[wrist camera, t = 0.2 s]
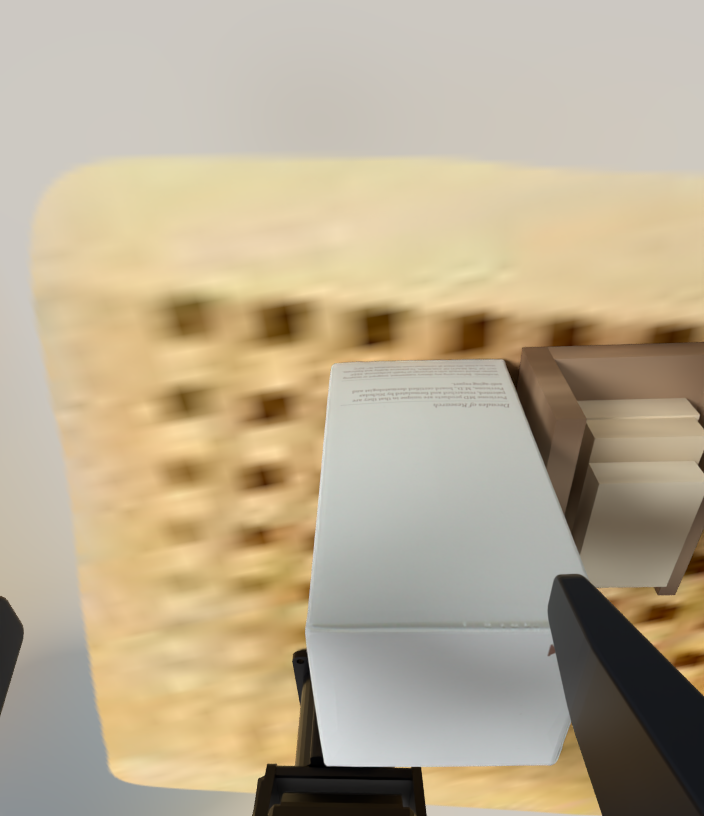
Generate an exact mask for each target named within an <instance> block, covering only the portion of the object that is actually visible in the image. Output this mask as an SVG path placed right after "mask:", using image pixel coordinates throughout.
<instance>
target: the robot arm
mask: <svg viewBox="0 0 704 816" xmlns="http://www.w3.org/2000/svg"><path fill="white" fill-rule="evenodd" d="M547 612H548V621H549V625H550V630H551V635H552V639H553V644H554V648H555V653H556V658H557V662H558V667H559V671H560V676H561V680H562V685H563V690H564V694H565V699H566V703H567V707H568V711H569V715H570V719H571V722H572V725H573V729H574V732H575V735H576V738H577V741H578V744H579V747H580V750H581V753H582V756H583V759H584V762H585V765H586V768H587V771H588V774H589V777H590V780H591V783H592V786H593V789H594V792H595V795H596V798H597V801H598V804H599V807H600V810H601V813H602V816H704V696H703V695H702V694H701V693H700V692H699V691H698V690H697V689H696V688H695V687H694V686H693V685H692V684H691V683H690V682H689V681H688V680H687V679H686V678H685V677H684V676H683V675H682V674H681V673H680V672H679V671H678V670H677V669H676V668H675V667H674V666H673V665H672V664H671V663H670V662H669V661H668V660H667V659H666V658H665V657H664V656H663V655H662V654H661V653H660V652H659V651H658V650H657V649H656V648H655V647H654V646H653V645H652V644H651V643H650V642H649V641H648V640H647V639H646V638H645V637H644V636H643V635H642V634H641V633H640V632H639V631H638V630H637V629H636V628H635V627H634V626H633V625H632V624H631V623H630V622H629V621H628V620H627V618H626V617H625V616H624V615H623V614H622V613H621V612H620V611H619V610H618V609H617V608H616V607H615V606H614V605H613V604H612V603H611V602H610V601H609V600H608V599H607V598H606V597H605V596H604V595H603V594H602V593H601V592H600V591H599V590H598V589H597V588H596V587H595V586H594V585H593V584H592V583H591V582H590V581H589V580H588V579H587V578H586V577H584V576H583V575H581V574H559V575H557V576H556V577H555V578H554V580H553V585H552V589H551V593H550V598H549V602H548V609H547ZM23 634H24V630H23V625H22V623H21V621H20V620H19V618H18V616H17V615H16V613H15V612H14V610H13V609H12V607H11V605H10V604H9V602H8V600H6V598H4V597H2V596H0V715H1V711H2V708H3V705H4V701H5V698H6V694H7V691H8V688H9V685H10V681H11V678H12V675H13V671H14V668H15V665H16V661H17V658H18V655H19V651H20V648H21V645H22V641H23ZM292 662H293V668H294V673H295V679H296V684H297V690H298V695H299V701H300V706H301V708H300V718H299V729H298V740H297V751H296V761H295V766H277V764H267V768H266V773H265V776H263V777H261V778H259V779H258V783H257V790H256V798H255V805H254V810H253V814H252V816H427V815H426V806H425V797H424V789H423V780H422V771H421V767H411V768H395V767H352V766H327V765H325V763H324V758H323V752H322V747H321V741H320V735H319V729H318V722H317V716H316V709H315V702H314V696H313V689H312V682H311V675H310V668H309V661H308V653H307V651H297V652H295V653H294V654H293V661H292Z"/></svg>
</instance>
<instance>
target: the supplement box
mask: <svg viewBox="0 0 704 816" xmlns="http://www.w3.org/2000/svg"><path fill="white" fill-rule="evenodd" d="M559 574H581V575H583V576H584V577H586V578H587V579H588V580H589V578H588V575H587V573H586V570H585V568H584V565H583V562H582V560H581V557H580V555H579V552H578V550H577V547H576V545H575V542H574V540H573V537H572V534H571V532H570V529H569V527H568V524H567V522H566V519H565V516H564V514H563V511H562V508H561V506H560V503H559V501H558V498H557V496H556V493H555V491H554V488H553V486H552V483H551V480H550V478H549V475H548V472H547V470H546V467H545V465H544V462H543V459H542V457H541V454H540V452H539V449H538V447H537V444H536V442H535V439H534V436H533V434H532V431H531V429H530V426H529V423H528V421H527V418H526V416H525V413H524V410H523V408H522V405H521V403H520V400H519V397H518V394H517V392H516V390H515V387H514V384H513V382H512V380H511V377H510V374H509V372H508V369H507V367H506V363H505V361H504V360H502V359H499V360H496V359H486V360H427V361H375V362H345V363H335V364H333V365H332V367H331V373H330V383H329V393H328V401H327V413H326V424H325V434H324V444H323V455H322V467H321V479H320V490H319V501H318V511H317V522H316V532H315V542H314V553H313V563H312V574H311V584H310V594H309V605H308V615H307V622H306V629H305V633H306V645H307V653H308V661H309V668H310V675H311V682H312V689H313V696H314V702H315V709H316V716H317V722H318V729H319V735H320V741H321V747H322V752H323V758H324V763H325V765H327V766H352V767H448V766H517V765H553V764H555V763H556V761H557V760H558V758H559V755H560V752H561V750H562V746H563V743H564V740H565V737H566V734H567V732H568V729H569V726H570V723H571V719H570V715H569V711H568V707H567V703H566V699H565V694H564V690H563V685H562V680H561V676H560V671H559V667H558V662H557V658H556V653H555V648H554V644H553V639H552V635H551V630H550V625H549V621H548V612H547V609H548V602H549V598H550V593H551V589H552V585H553V580H554V578H555V577H556V576H557V575H559ZM589 581H590V580H589Z"/></svg>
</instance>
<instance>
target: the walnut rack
mask: <svg viewBox="0 0 704 816" xmlns="http://www.w3.org/2000/svg"><path fill="white" fill-rule="evenodd" d="M516 392H517V394H518V397H519V400H520V403H521V405H522V408H523V410H524V413H525V416H526V418H527V421H528V423H529V426H530V429H531V431H532V434H533V436H534V439H535V442H536V444H537V447H538V449H539V452H540V454H541V457H542V459H543V462H544V465H545V467H546V470H547V472H548V475H549V478H550V480H551V483H552V486H553V488H554V491H555V493H556V496H557V498H558V501H559V503H560V506H561V508H562V511H563V514H564V515H565V510H566V506H567V502H568V497H569V493H570V489H571V485H572V480H573V476H574V472H575V467H576V463H577V459H578V455H579V450H580V446H581V442H582V437H583V433H584V429H585V425H586V420H587V418H586V416H585V415H584V413H583V411H582V409H581V407H580V405H579V404H578V402H577V401H587V400H626V399H665V398H686V399H687V400H688V401H689V402H690V404H691V405H692V406H693V407H694V408H695V409H696V411H697V412H698V413H699V414H700V417H699V419H698V423H699V424H700V425H701V426H702V428H703V429H704V342H696V343H662V344H628V345H594V346H560V347H526V348H522V355H521V362H520V369H519V376H518V383H517V390H516ZM698 466H699V468H700V469H701V470H702V472H703V473H704V451H703V453H702V456H701V458H700V461H699V464H698ZM703 529H704V497H703V499H702V502H701V504H700V507H699V509H698V511H697V514H696V516H695V519H694V521H693V523H692V526H691V528H690V531H689V533H688V535H687V538H686V540H685V543H684V545H683V547H682V550H681V552H680V555H679V557H678V559H677V562H676V564H675V567H674V569H673V571H672V574H671V576H670V579H669V581H668V583H667V586H666V587H654V589H655V591H656V593H657V595H675V594H676V592H677V589H678V587H679V585H680V582H681V580H682V578H683V575H684V573H685V571H686V569H687V566H688V564H689V562H690V559H691V557H692V555H693V552H694V550H695V548H696V546H697V543H698V541H699V539H700V536H701V534H702V532H703Z"/></svg>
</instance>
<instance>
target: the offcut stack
mask: <svg viewBox="0 0 704 816" xmlns="http://www.w3.org/2000/svg"><path fill="white" fill-rule="evenodd" d="M577 402H578V404H579V405H580V407H581V409H582V411H583V413H584V415H585V416H586V418H587V420H586V425H585V429H584V433H583V437H582V442H581V446H580V450H579V455H578V459H577V463H576V467H575V472H574V476H573V480H572V485H571V489H570V493H569V497H568V502H567V506H566V510H565V515H564V516H565V519H566V522H567V524H568V527H569V529H570V532H571V534H572V537H573V540H574V542H575V545H576V547H577V550H578V552H579V555H580V557H581V560H582V562H583V565H584V568H585V570H586V573H587V575H588V578H589V580H590V582H591V583H592V584H593V585H594V586H595V587H596V588H608V587H666V586H667V583H668V581H669V579H670V576H671V574H672V571H673V569H674V567H675V564H676V562H677V559H678V557H679V555H680V552H681V550H682V547H683V545H684V543H685V540H686V538H687V535H688V533H689V531H690V528H691V526H692V523H693V521H694V519H695V516H696V514H697V511H698V509H699V507H700V504H701V502H702V499H703V497H704V473H703V472H702V470H701V469H700V468H699V466H698V464H699V461H700V458H701V456H702V453H703V451H704V429H703V428H702V426H701V425H700V424H699V423H698V419H699V417H700V414H699V413H698V412H697V411H696V409H695V408H694V407H693V406H692V405H691V404H690V402H689V401H688V400H687V399H686V398H665V399H626V400H587V401H577Z"/></svg>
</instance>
